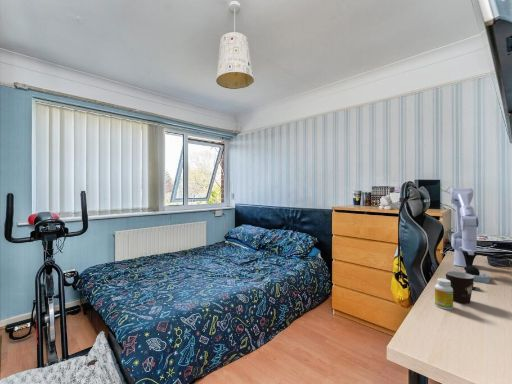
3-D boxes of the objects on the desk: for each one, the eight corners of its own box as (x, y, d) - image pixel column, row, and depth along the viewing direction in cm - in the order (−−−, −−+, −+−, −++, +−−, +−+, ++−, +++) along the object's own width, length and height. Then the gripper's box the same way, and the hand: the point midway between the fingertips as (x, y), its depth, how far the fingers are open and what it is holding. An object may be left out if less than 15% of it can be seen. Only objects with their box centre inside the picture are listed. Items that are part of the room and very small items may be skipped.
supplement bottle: (448, 311, 89) (448, 283, 89) (431, 305, 94) (431, 278, 94) (456, 307, 91) (456, 281, 91) (439, 302, 96) (439, 276, 96)
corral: (455, 273, 128) (455, 268, 128) (485, 278, 122) (485, 273, 122) (457, 278, 122) (457, 273, 121) (489, 283, 115) (489, 278, 115)
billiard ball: (482, 280, 119) (482, 268, 118) (467, 279, 120) (467, 267, 120) (475, 276, 124) (475, 264, 124) (460, 275, 126) (460, 263, 126)
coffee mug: (463, 296, 101) (463, 271, 101) (480, 305, 93) (480, 278, 93) (432, 294, 103) (432, 270, 103) (446, 304, 94) (446, 277, 94)
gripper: (457, 236, 137) (457, 261, 137) (460, 241, 125) (460, 268, 125) (474, 237, 133) (474, 263, 133) (479, 242, 121) (479, 270, 121)
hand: (468, 266), depth 129 cm, fingers closed
